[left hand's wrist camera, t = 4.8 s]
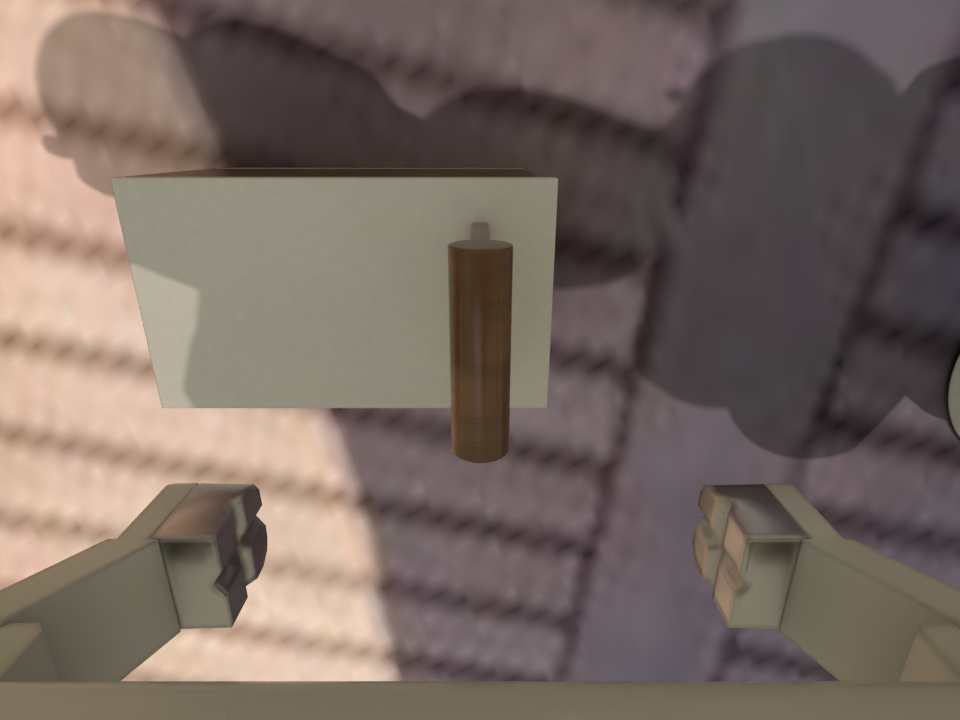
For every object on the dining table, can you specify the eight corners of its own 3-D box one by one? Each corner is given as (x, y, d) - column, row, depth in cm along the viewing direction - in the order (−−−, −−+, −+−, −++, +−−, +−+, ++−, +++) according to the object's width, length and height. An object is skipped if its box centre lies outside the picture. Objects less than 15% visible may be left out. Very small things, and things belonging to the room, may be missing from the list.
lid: (555, 176, 23) (594, 192, 15) (545, 400, 27) (572, 503, 19) (122, 176, 23) (-57, 192, 15) (171, 400, 27) (46, 504, 19)
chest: (522, 167, 32) (539, 176, 23) (518, 336, 36) (531, 400, 27) (221, 167, 32) (122, 176, 23) (248, 336, 36) (171, 400, 27)
